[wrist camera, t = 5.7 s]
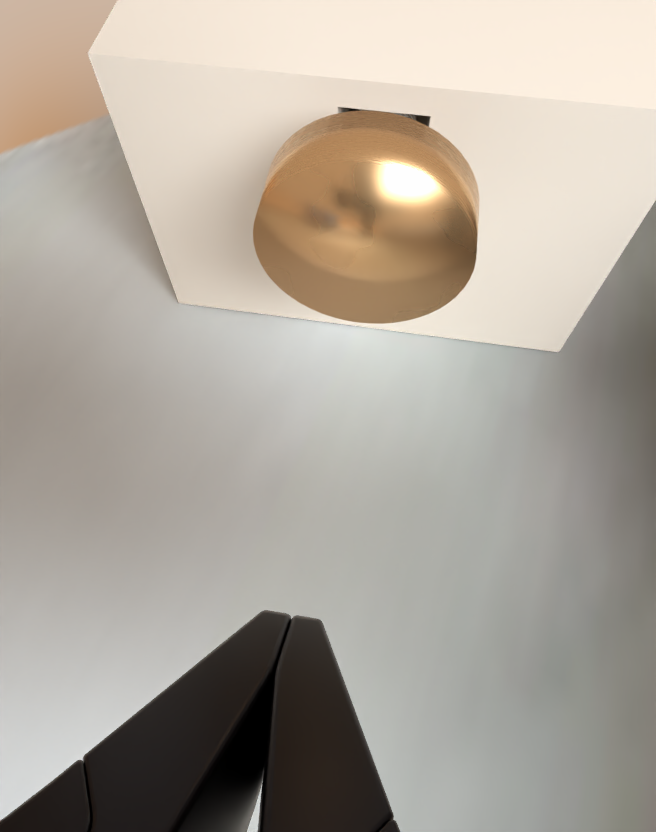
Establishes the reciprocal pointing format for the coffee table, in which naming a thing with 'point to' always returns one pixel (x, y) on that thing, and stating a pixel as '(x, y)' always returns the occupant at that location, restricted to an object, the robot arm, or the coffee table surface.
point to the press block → (399, 93)
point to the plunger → (369, 218)
